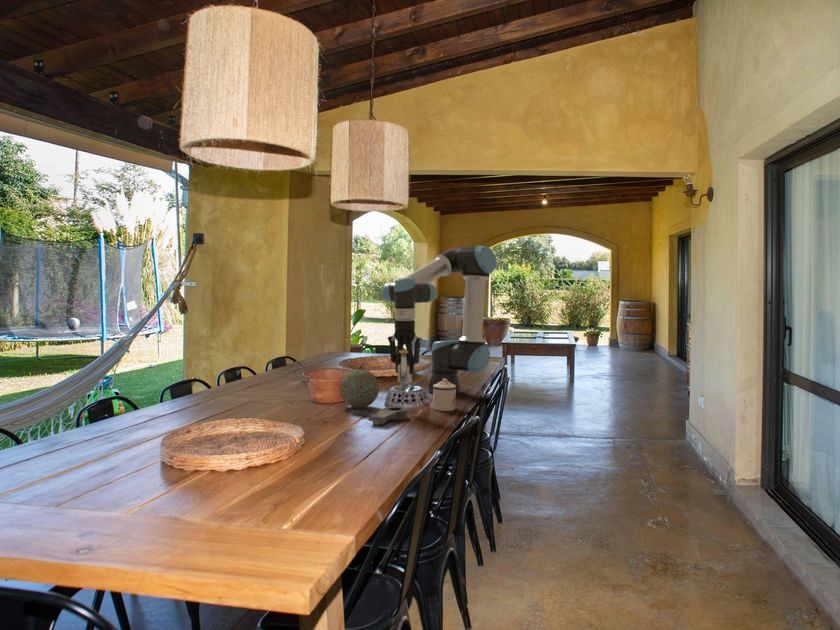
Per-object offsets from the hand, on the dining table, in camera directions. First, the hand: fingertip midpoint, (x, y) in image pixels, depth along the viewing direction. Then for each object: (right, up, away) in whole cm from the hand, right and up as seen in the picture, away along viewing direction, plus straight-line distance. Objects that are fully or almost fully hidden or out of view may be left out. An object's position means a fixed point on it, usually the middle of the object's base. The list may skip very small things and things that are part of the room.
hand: (404, 381), depth 223 cm
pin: (0, -2, 0) cm, 2 cm away
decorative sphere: (-18, -11, +6) cm, 22 cm away
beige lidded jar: (+15, -11, +7) cm, 20 cm away
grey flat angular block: (-11, -12, -13) cm, 20 cm away
